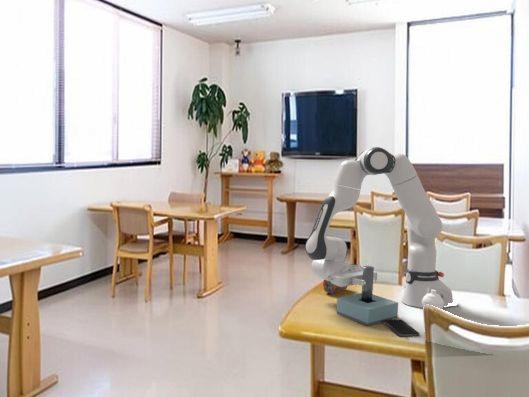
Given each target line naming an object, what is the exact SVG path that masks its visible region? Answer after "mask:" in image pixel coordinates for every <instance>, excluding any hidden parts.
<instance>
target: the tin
mask: <svg viewBox="0 0 529 397" xmlns="http://www.w3.org/2000/svg"><path fill="white" fill-rule="evenodd" d="M322 286H323V290H324V292H325V293H327V294H331V295H333V294H336V293H341V292H344V291H346V290H347V288H348V286H344V287H340V286H337V285H334V284H332V283H331V281H327V280H324V279H323V282H322Z"/></svg>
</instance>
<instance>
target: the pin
mask: <svg viewBox="0 0 529 397" xmlns="http://www.w3.org/2000/svg"><path fill="white" fill-rule="evenodd" d="M362 267H363V278H362V280H365V281H366V285H363V286H362V285H361V293H362V296H361V301H363V302H366V303H371V302H372V294H373V291H374V290H373V289H374V284H373V276H374V271H375V267H374V266H371V265H362Z"/></svg>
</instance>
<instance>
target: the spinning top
mask: <svg viewBox="0 0 529 397" xmlns="http://www.w3.org/2000/svg"><path fill="white" fill-rule="evenodd" d="M426 304H429V305H433V306H435V307H438V308H440V309H444V308H443V306H444V301H443V299H442V298H441V296H440V295H438V294H436V290H431V293H429V294H426V295H425V296H424V297H423V299H422V305H423V307H424V305H426Z"/></svg>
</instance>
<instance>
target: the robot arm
mask: <svg viewBox="0 0 529 397" xmlns="http://www.w3.org/2000/svg"><path fill="white" fill-rule="evenodd" d="M381 174H382V175H383V174H384V175H385V176H386V177H387V178H388V180H389V183H390V186H391V187H392V189H393V192H394V194H395V196H396V198H397V200H398V203H399V205H400V206H401V208H402V209H403V211H404V213H405V215H406V227H407V228H406V230H407V248H408V249H407V251H408V252H407V253H408V254H407V267H406V270H405V271H406V272H405V288H404V293H403V295H402V299H401V302H402V303H403V304H405V305H407V306H411V307H414V308H420V309H424V308H423V305H422V299H423V297H424V296H425V295H426V294H429V293H431V290H436V294H438V295H440V296H441V298H442V299H443V301H444V306H447V305H448V303H452V302H453V300H454V299H453V292H452V290H451V287H449V286H447V285H446V284H445V283H444V282H443V281H441V279H440V278H444V277H445V273H444V272H442V271H438V270H436V269H437V266H436V265H437V264H436V263H437V249H436V242H435V240H436V239H435V238H437V237H439V235H440V234H441V233H442V231H443V223H442V222H443V221H442V220H441V217H440V216H439V214H438V212H437V209H436V208H435V206H434V205H433V203H432V201H431V200H430V198H429V196H428V194H427V193H426V191H425V189H424V186H423V184H422V182H421V179H420V177H419V175H418V173H417V170H416V169H415V167H414V165H413V164H412V162H411V160H410V159H409V158H408V157H407V155H405V154H403V153H396V154H393V153H390V152H389V151H388V150H387V149H385V148H382V147H380V146H376V147H374V146H373V147H370V148H366V149H365V150H363V151H362V152H361V153H360V154H358V156H357V157H356V158H355V160H353V159H346V160H344V161H342V162H341V164H340V165H339V167H338V169H337V172H336V175H335V179H334V181H333V186H332V189H331V192H330V193H329V195H328V196H327V197H325V199H323V201H322V204H321V206H320V208H319V211H318V214H317V216H316V219H315V221H314V225H313V228H312V230H311V232H310V233H309V234H310V235H309V236H308V238H307V240H306V242H305V244H304V245H305V252H306V254H307V256H308V257H309V258H310V259H311V260H312V262H311V270H312V272H313V274H315V276H317V277H318V278H321V279H322V280H323V281H324V280H327V281H331V283H332V284H334V285H337V286H340V287H344V286H347V287H350V286H355V285H358V286H361V287H362V286H363V285H366V281H365V280H362V278H363V266H362V264H358V263H356V264H355V263H347V262H345V261H346V258H347V254H348V246H347V242H346V241H345V240H344V239H343V238H341V237H335V236H328V235H327V233H328V232H329V228H330V225H331V222H332V219H334V217H335V215H336V214H337V213H340V212H341V211H345V210H349V209H350V208H352V207H354V206H355V205H357V202H358V201H359V198H360V195H361V189H362V184H363V181H364V179H365V177H367V176H368V175H369V176H370V175H371V176H378V175H381ZM377 280H378V272H377V271H376V270H374V276H373V285H374V284H376V282H377ZM444 306H443V307H444Z"/></svg>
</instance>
